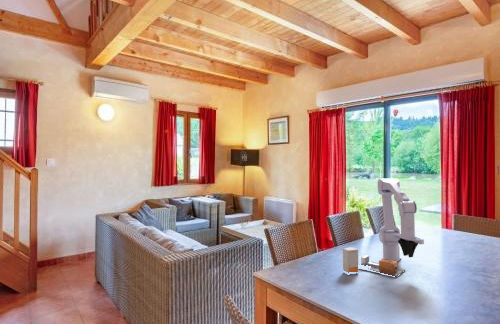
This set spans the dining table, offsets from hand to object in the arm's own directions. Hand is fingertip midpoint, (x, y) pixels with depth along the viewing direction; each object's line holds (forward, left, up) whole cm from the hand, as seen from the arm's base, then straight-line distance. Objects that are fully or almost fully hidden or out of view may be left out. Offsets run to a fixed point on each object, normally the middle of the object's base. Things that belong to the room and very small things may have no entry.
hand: (408, 256), depth 139 cm
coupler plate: (0, -13, -9) cm, 16 cm away
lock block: (0, -9, -8) cm, 12 cm away
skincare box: (+14, -22, -10) cm, 27 cm away
